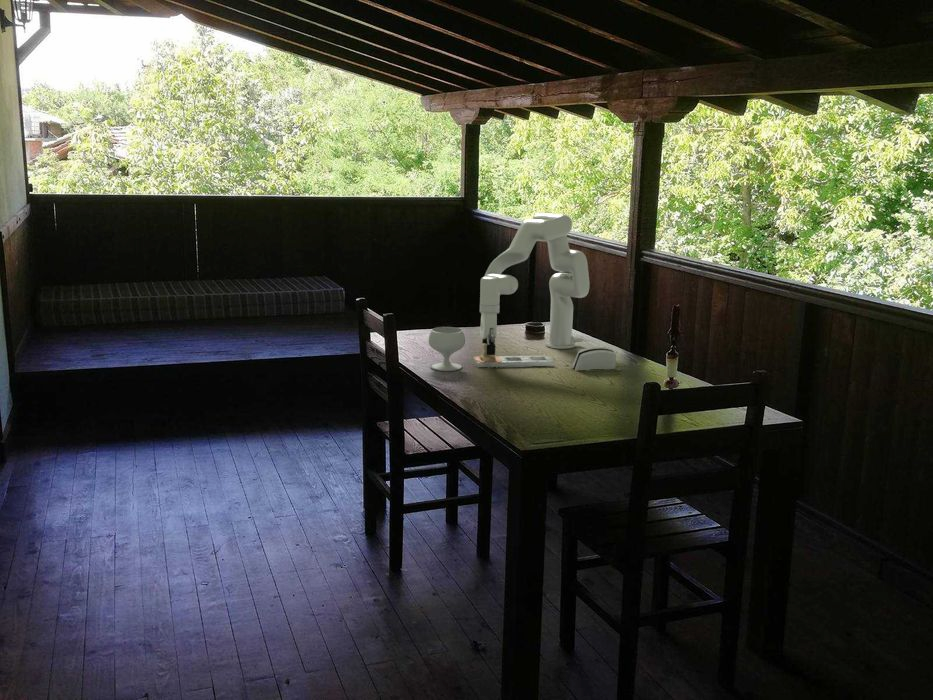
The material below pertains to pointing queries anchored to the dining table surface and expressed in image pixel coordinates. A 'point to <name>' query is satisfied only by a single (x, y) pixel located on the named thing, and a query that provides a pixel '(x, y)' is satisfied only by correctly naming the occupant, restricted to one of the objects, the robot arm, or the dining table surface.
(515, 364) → the rail
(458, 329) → the chalice
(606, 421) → the dining table surface
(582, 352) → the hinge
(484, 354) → the peg
